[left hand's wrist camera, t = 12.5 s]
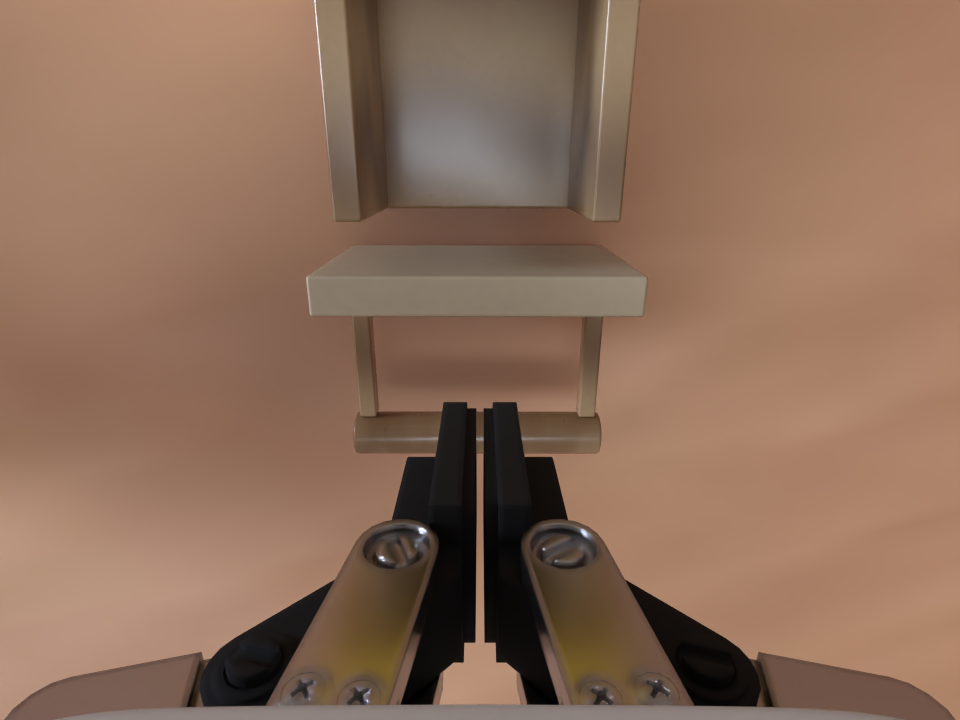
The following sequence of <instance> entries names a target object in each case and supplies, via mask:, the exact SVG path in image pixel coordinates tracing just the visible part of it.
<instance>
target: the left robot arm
mask: <svg viewBox="0 0 960 720" xmlns="http://www.w3.org/2000/svg"><path fill="white" fill-rule="evenodd" d="M476 522H477V492H476V408H467V402H444V404H443V410H442V417H441V423H440V430H439V437H438V443H437V450H436V457H408V458H407V461H406V465H405V469H404V473H403V477H402V481H401V485H400V490H399V494H398V498H397V502H396V506H395V510H394V514H393V518H392V520H390V521H385V522H382V523H380V524H377V525H375V526H372V527H371V528H369V529H368V530H367V531H365V532H364V533H363V534H362V535H361V536H360V537H359V539H358V540H357V541H356V543H355V545H354V546H353V548H352V550H351V552H350V554H349V555H348V557H347V559H346V561H345V563H344V565H343V566H342V568H341V570H340V572H339V574H338V575H337V577H336V579H335V580H333V581H332V582H330V583H328V584H327V585H325V586H323V587H321V588H320V589H318V590H316V591H315V592H313V593H311V594H309V595H308V596H306V597H304V598H303V599H301V600H299V601H297V602H296V603H294V604H292V605H291V606H289V607H287V608H285V609H284V610H282V611H280V612H279V613H277V614H275V615H274V616H272V617H270V618H268V619H267V620H265V621H263V622H262V623H260V624H258V625H256V626H255V627H253V628H251V629H250V630H248V631H246V632H244V633H243V634H241V635H239V636H238V637H236V638H234V639H233V640H231V641H230V642H229V643H227V644H226V645H225V646H223V647H222V648H220V650H219V651H218V652H217V653H216V654H215V655H214V656H213V657H212V658H211V659H207V660H203V656H202V652H199V653H194V654H189V655H183V656H178V657H173V658H168V659H162V660H157V661H152V662H147V663H141V664H136V665H131V666H126V667H120V668H115V669H110V670H105V671H99V672H94V673H89V674H84V675H78V676H73V677H69V678H66V679H63V680H60V681H57V682H53V683H51V684H49V685H47V686H45V687H44V688H42V689H40V690H38V691H36V692H35V693H33V694H31V695H30V696H29V697H27V698H26V699H25V700H24V701H22V702H21V703H20V704H19V705H17V706H16V707H15V708H14V709H13V710H12V711H11V712H10V713H9V715H8V716H7V717H6V718H5V720H955V718H954V717H953V716H952V715H951V713H950V712H949V711H948V710H947V709H946V708H945V707H944V706H943V705H941V704H940V703H939V702H938V701H936V700H935V699H934V698H933V697H931V696H930V695H929V694H927V693H925V692H924V691H922V690H920V689H918V688H916V687H915V686H913V685H911V684H909V683H907V682H903V681H900V680H897V679H894V678H891V677H887V676H882V675H876V674H871V673H866V672H861V671H855V670H850V669H845V668H840V667H834V666H829V665H824V664H819V663H813V662H808V661H803V660H798V659H792V658H787V657H782V656H777V655H771V654H766V653H761V652H758V656H757V660H753V659H749V658H748V657H747V656H746V655H745V654H744V653H743V652H742V651H741V650H740V648H738V647H737V646H735V645H734V644H733V643H731V642H730V641H729V640H727V639H726V638H724V637H722V636H721V635H719V634H717V633H716V632H714V631H712V630H710V629H709V628H707V627H705V626H704V625H702V624H700V623H698V622H697V621H695V620H693V619H692V618H690V617H688V616H686V615H685V614H683V613H681V612H680V611H678V610H676V609H675V608H673V607H671V606H669V605H668V604H666V603H664V602H663V601H661V600H659V599H657V598H656V597H654V596H652V595H651V594H649V593H647V592H645V591H644V590H642V589H640V588H639V587H637V586H635V585H633V584H632V583H630V582H628V581H627V580H625V579H624V577H623V575H622V574H621V572H620V570H619V568H618V566H617V565H616V563H615V561H614V559H613V557H612V555H611V554H610V552H609V550H608V548H607V546H606V545H605V543H604V541H603V540H602V539H601V537H600V536H599V535H598V534H597V533H596V532H595V531H593V530H592V529H591V528H589V527H588V526H585V525H583V524H580V523H578V522H575V521H570V520H568V518H567V514H566V510H565V506H564V502H563V498H562V494H561V490H560V485H559V481H558V477H557V473H556V469H555V465H554V461H553V458H552V457H524V450H523V443H522V437H521V430H520V423H519V417H518V410H517V404H516V402H493V408H484V492H483V523H484V626H485V643H496V662H507V663H508V664H509V665H510V666H511V667H512V668H514V669H515V670H516V671H517V690H518V694H519V698H520V703H521V705H439V703H440V698H441V694H442V690H443V671H444V670H445V669H446V668H447V667H449V666H450V665H451V664H452V663H453V662H464V643H475V626H476Z"/></svg>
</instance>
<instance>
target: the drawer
mask: <svg viewBox="0 0 960 720" xmlns="http://www.w3.org/2000/svg"><path fill="white" fill-rule="evenodd" d="M314 8H315V19H316V30H317V41H318V52H319V63H320V74H321V85H322V96H323V107H324V118H325V128H326V139H327V150H328V161H329V172H330V183H331V194H332V205H333V216H334V220H335V221H337V222H360V221H362V220H364V219H366V218H368V217H370V216H372V215H374V214H376V213H378V212H380V211H382V210H384V209H386V208H569V209H571V210H573V211H574V212H576V213H578V214H580V215H582V216H584V217H586V218H587V219H589V220H591V221H593V222H619V221H620V220H621V209H622V198H623V187H624V176H625V165H626V154H627V143H628V132H629V121H630V110H631V99H632V88H633V77H634V66H635V55H636V44H637V33H638V22H639V11H640V0H314ZM306 282H307V291H308V300H309V309H310V314H311V316H333V317H352V324H353V335H354V347H355V359H356V371H357V383H358V394H359V406H360V412H358V413H357V415H356V418H355V423H354V446H355V450H356V452H357V453H436V450H437V443H438V437H439V430H440V423H441V417H442V412H378V410H379V402H378V388H377V374H376V360H375V346H374V332H373V318H372V317H583V320H582V334H581V348H580V362H579V376H578V390H577V404H576V410H577V412H518V417H519V423H520V430H521V437H522V443H523V450H524V454H596V453H598V452H599V450H600V446H601V423H600V418H599V416H598V414H597V413H596V412H595V406H596V395H597V383H598V371H599V359H600V347H601V336H602V324H603V317H642V316H643V315H644V311H645V302H646V293H647V284H648V278H647V277H646V276H645V275H643V274H642V273H641V272H639V271H638V270H636V269H635V268H633V267H632V266H631V265H629V264H628V263H626V262H625V261H623V260H622V259H620V258H619V257H618V256H616V255H615V254H613V253H612V252H610V251H609V250H608V249H606V248H605V247H603V246H574V245H354V246H352V247H350V248H349V249H347V250H346V251H344V252H343V253H342V254H340V255H339V256H337V257H336V258H334V259H333V260H331V261H330V262H328V263H327V264H325V265H324V266H322V267H321V268H319V269H318V270H316V271H315V272H313V273H312V274H310V275H309V276H307V278H306ZM476 454H484V412H476Z"/></svg>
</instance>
